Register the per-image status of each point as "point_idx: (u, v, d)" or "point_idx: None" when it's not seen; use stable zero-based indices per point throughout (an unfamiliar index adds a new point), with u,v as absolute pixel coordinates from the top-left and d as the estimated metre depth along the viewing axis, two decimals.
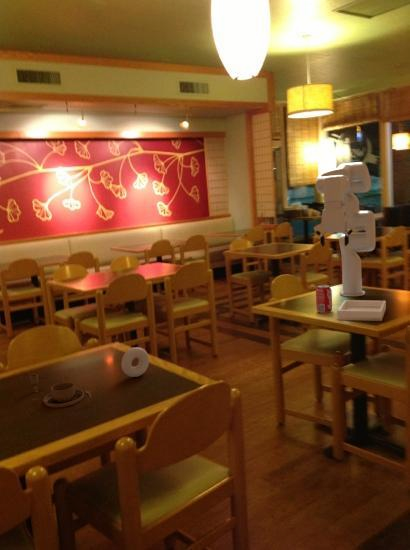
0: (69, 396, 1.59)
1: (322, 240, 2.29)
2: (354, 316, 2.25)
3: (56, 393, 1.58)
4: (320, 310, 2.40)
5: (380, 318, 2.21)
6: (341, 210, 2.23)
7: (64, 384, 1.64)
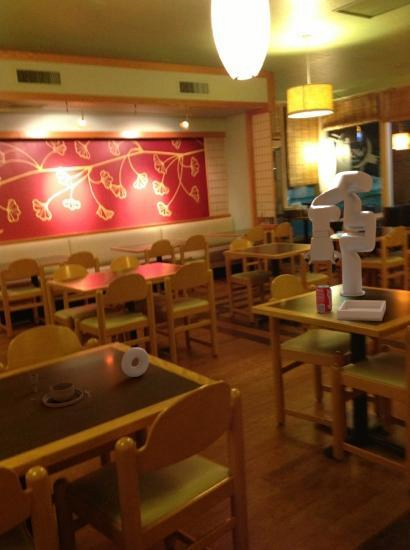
0: (68, 396, 1.59)
1: (311, 267, 2.40)
2: (354, 316, 2.25)
3: (55, 393, 1.58)
4: (320, 310, 2.40)
5: (380, 318, 2.21)
6: (329, 239, 2.34)
7: (63, 384, 1.64)
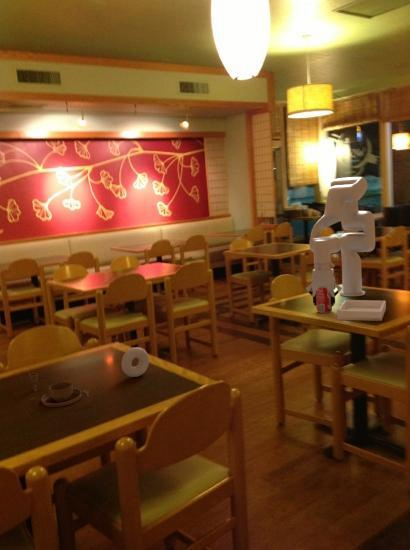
0: (66, 396, 1.59)
1: (314, 300, 2.42)
2: (354, 316, 2.25)
3: (53, 392, 1.58)
4: (320, 310, 2.40)
5: (380, 318, 2.21)
6: (330, 271, 2.36)
7: (62, 383, 1.64)
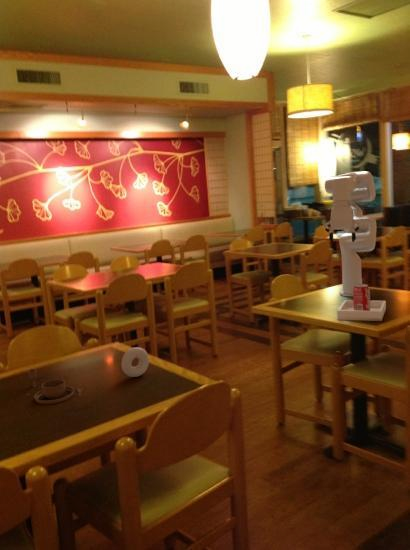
0: (57, 393, 1.61)
1: (331, 236, 2.47)
2: (354, 316, 2.25)
3: (45, 390, 1.61)
4: None
5: (380, 318, 2.21)
6: (349, 209, 2.41)
7: (56, 381, 1.67)
